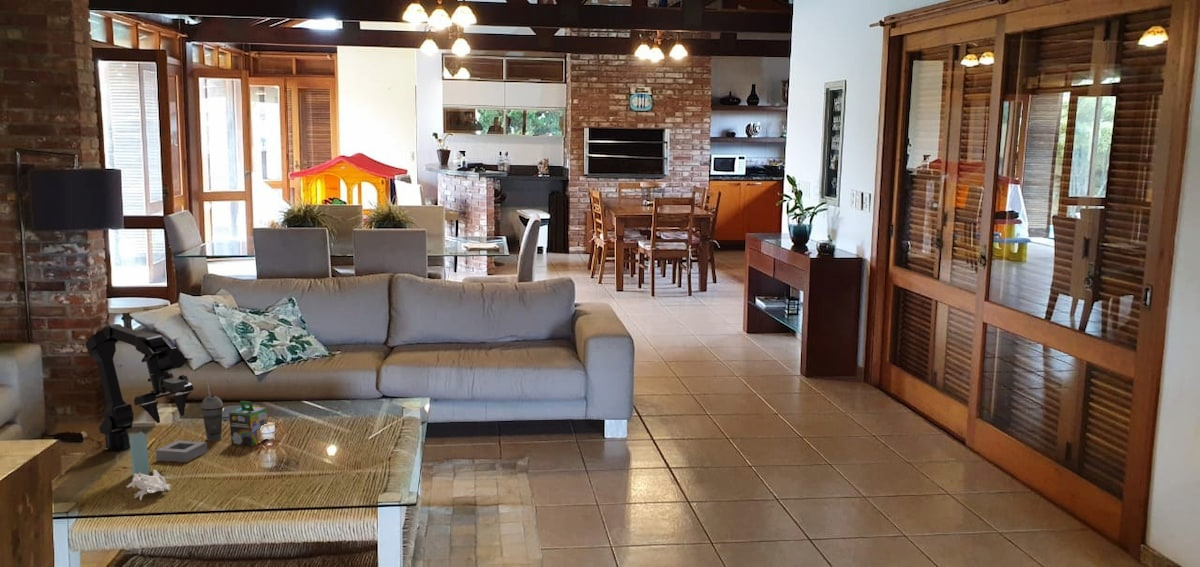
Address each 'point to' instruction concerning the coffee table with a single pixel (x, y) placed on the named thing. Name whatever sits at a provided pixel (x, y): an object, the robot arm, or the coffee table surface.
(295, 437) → the coffee table surface
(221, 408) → the beverage cup
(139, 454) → the peg
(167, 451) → the socket
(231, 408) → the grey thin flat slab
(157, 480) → the white crumpled lump
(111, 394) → the robot arm
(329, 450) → the coffee table surface
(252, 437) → the chalk box
